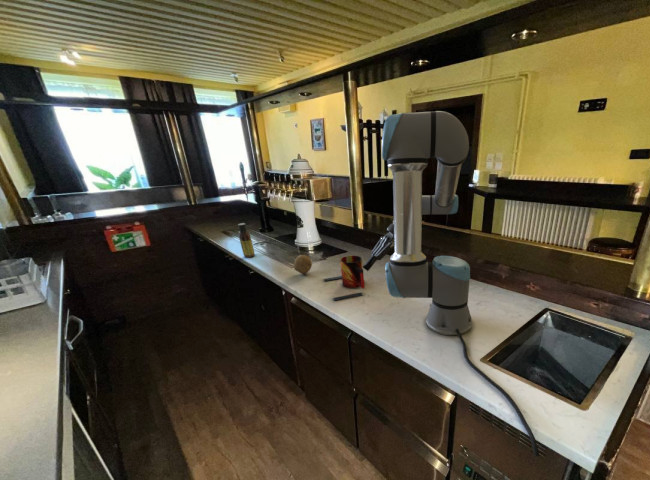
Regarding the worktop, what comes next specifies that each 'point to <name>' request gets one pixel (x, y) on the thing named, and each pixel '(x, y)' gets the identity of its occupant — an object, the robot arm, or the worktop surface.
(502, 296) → the worktop surface
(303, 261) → the natural sponge
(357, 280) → the mug
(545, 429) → the worktop surface
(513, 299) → the worktop surface
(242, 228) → the sauce bottle
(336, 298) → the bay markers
